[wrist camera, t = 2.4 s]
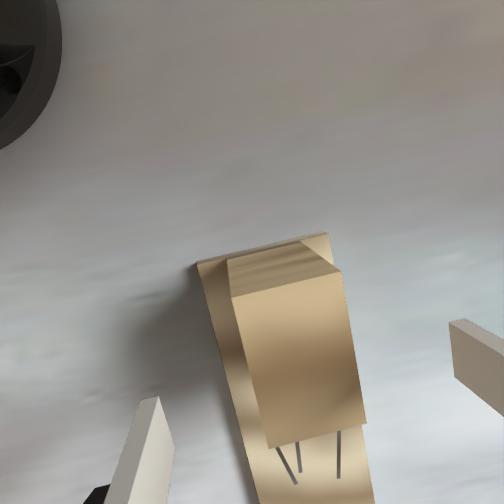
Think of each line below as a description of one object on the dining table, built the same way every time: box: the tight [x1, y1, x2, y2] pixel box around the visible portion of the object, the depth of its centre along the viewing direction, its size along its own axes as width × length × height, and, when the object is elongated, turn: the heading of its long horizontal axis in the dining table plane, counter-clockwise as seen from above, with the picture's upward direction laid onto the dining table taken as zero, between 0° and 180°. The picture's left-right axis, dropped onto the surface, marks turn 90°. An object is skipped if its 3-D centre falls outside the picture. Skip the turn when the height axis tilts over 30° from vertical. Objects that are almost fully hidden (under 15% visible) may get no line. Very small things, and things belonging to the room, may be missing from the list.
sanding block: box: [227, 241, 367, 449], centre depth 20 cm, size 8×5×8 cm, turn 12°
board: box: [197, 232, 375, 504], centre depth 27 cm, size 26×9×1 cm, turn 12°
